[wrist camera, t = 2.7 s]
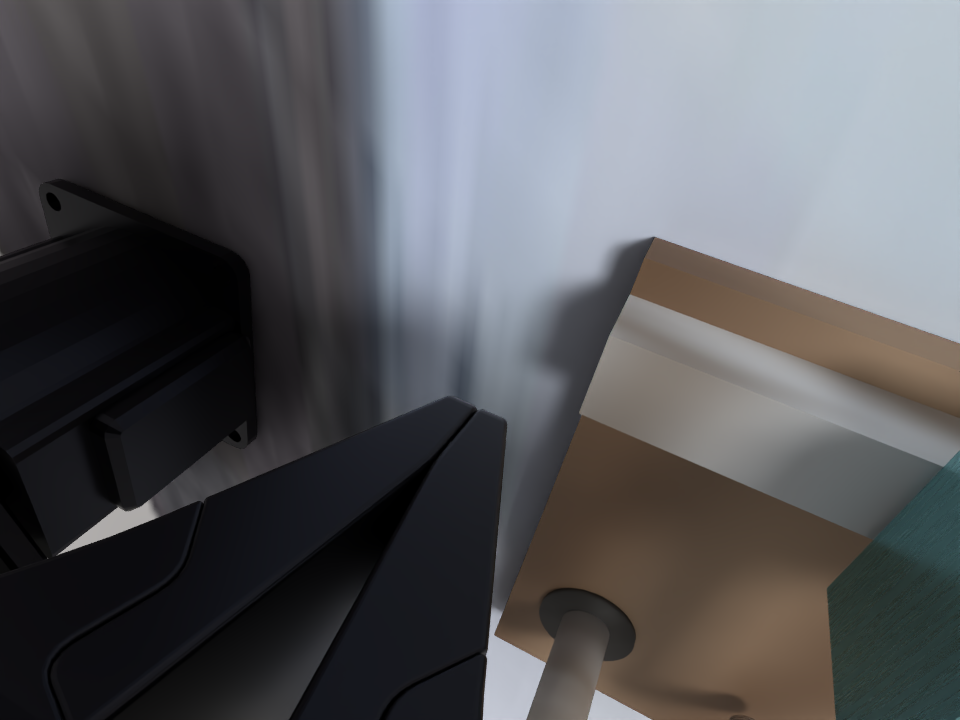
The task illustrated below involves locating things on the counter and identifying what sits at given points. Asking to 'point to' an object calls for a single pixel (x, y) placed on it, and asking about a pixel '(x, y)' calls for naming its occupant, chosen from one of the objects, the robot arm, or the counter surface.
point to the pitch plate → (724, 494)
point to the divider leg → (902, 614)
